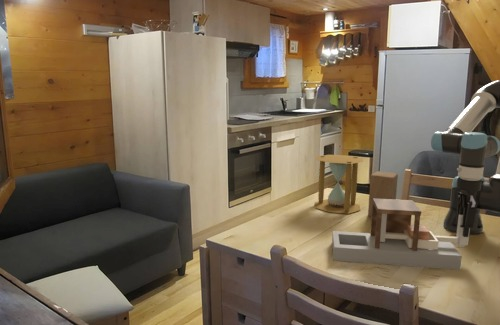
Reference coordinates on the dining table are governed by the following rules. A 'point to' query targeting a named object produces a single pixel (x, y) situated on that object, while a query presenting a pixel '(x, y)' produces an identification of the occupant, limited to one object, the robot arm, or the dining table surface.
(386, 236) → the slider
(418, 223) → the tunnel
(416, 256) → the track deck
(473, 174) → the robot arm
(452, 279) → the dining table surface
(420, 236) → the block
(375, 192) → the wooden block
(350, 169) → the hourglass
